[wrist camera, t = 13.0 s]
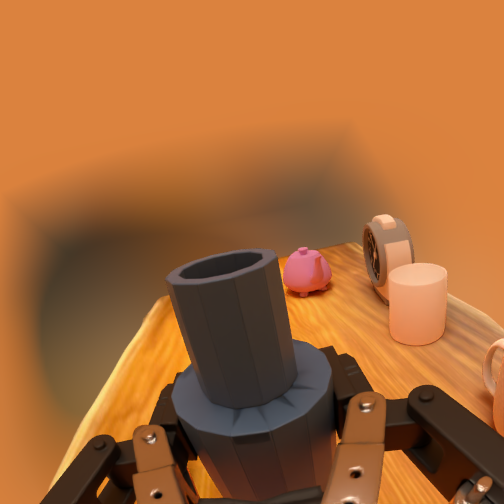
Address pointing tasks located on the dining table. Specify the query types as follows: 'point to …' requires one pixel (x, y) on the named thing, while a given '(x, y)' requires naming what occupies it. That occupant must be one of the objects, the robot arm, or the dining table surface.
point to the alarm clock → (385, 250)
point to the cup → (417, 303)
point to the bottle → (250, 379)
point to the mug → (495, 386)
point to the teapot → (306, 272)
